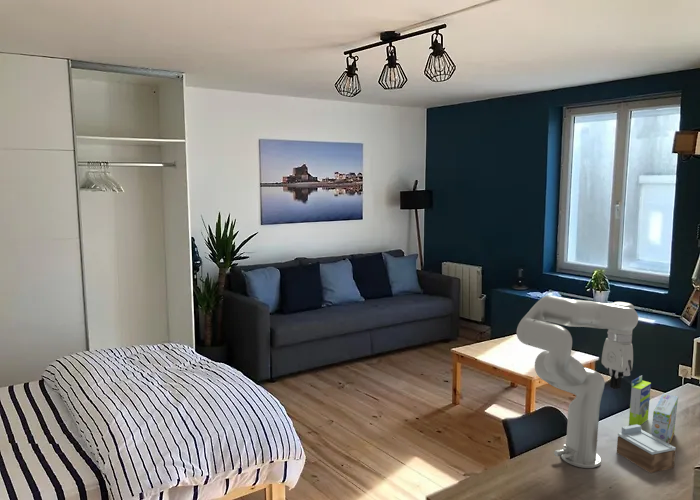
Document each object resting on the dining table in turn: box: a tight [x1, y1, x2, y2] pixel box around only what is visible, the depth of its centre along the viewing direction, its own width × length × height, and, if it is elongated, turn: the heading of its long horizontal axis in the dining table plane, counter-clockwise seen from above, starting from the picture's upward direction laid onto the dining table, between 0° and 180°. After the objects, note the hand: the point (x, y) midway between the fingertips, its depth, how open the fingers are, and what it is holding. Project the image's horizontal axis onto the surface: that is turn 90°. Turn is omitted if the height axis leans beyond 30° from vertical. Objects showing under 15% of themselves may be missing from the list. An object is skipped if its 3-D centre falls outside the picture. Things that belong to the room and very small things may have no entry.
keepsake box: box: [616, 435, 676, 474], centre depth 186 cm, size 10×14×6 cm
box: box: [628, 375, 652, 426], centre depth 214 cm, size 10×4×17 cm, turn 132°
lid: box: [617, 424, 676, 455], centre depth 185 cm, size 10×14×3 cm
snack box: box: [650, 393, 679, 445], centre depth 198 cm, size 21×6×15 cm, turn 143°
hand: (615, 387), depth 196 cm, fingers closed
